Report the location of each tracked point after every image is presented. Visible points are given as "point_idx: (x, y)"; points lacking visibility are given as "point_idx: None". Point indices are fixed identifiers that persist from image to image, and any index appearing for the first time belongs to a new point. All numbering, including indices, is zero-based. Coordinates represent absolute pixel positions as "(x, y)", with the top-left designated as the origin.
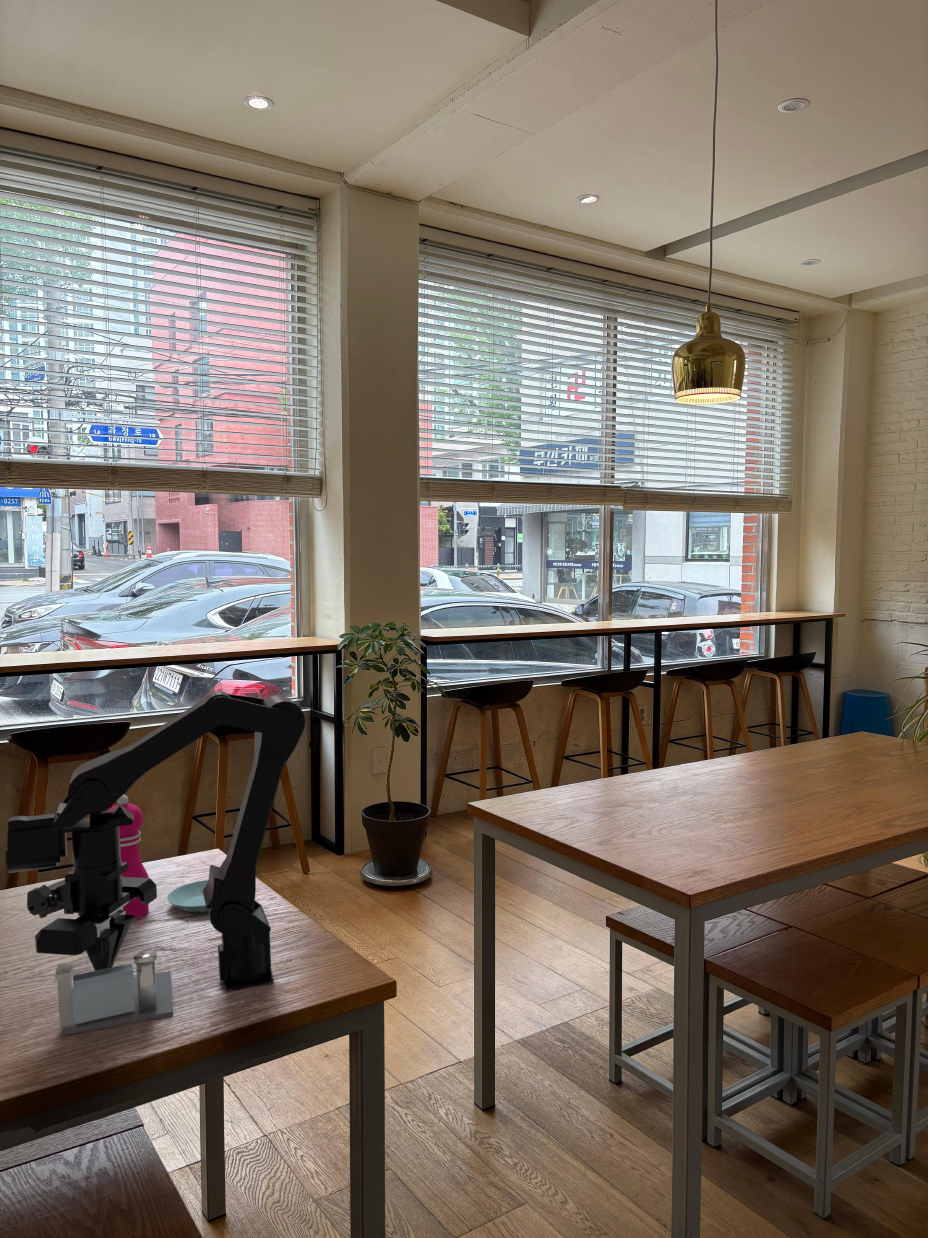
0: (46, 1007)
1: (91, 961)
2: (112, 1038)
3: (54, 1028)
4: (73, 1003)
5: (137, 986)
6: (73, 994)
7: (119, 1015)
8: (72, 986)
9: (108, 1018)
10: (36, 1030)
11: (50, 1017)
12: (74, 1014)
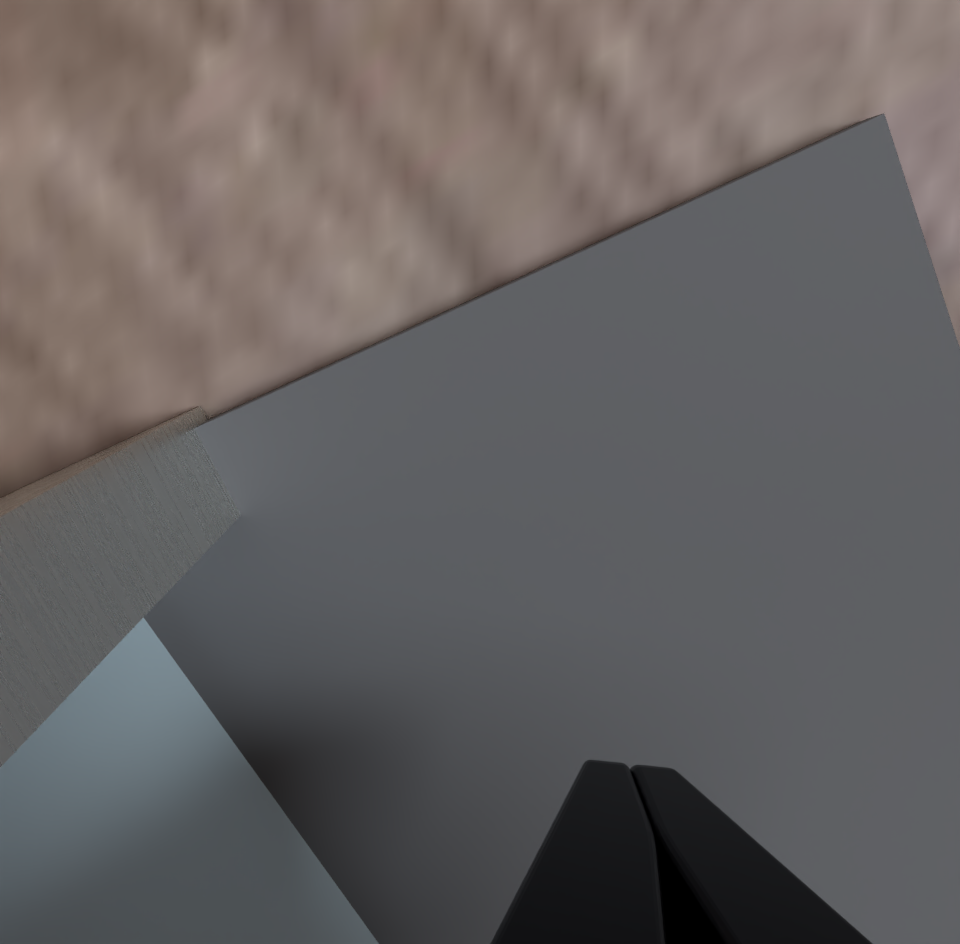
0: (503, 33)
1: (514, 912)
2: None
3: (102, 375)
4: (190, 567)
5: (863, 846)
6: (714, 254)
7: None
8: (91, 667)
9: None
10: (39, 207)
11: (297, 211)
12: (281, 496)
